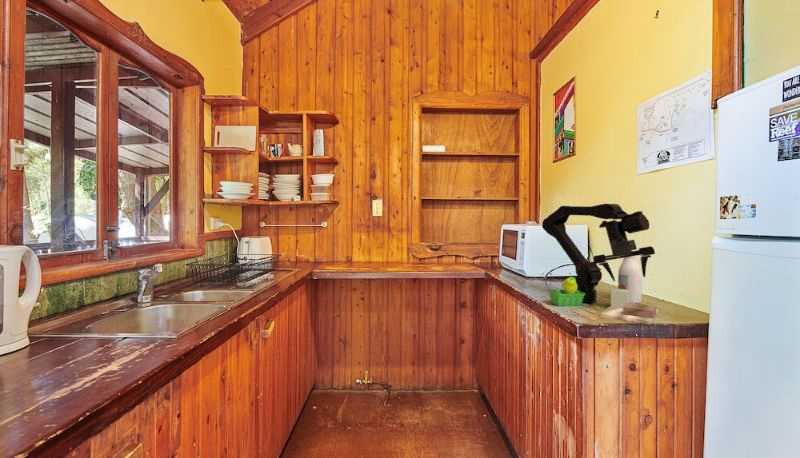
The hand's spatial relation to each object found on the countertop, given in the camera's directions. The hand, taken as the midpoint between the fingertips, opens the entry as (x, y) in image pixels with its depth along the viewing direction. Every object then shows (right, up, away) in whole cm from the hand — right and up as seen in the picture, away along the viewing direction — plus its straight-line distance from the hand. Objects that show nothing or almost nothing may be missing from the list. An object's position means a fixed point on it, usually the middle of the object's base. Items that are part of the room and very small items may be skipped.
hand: (629, 279), depth 126 cm
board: (-2, -11, -4) cm, 12 cm away
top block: (-2, -10, +2) cm, 11 cm away
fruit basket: (-17, -12, +10) cm, 23 cm away
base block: (-2, -10, -8) cm, 13 cm away
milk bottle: (+9, -11, +14) cm, 20 cm away
